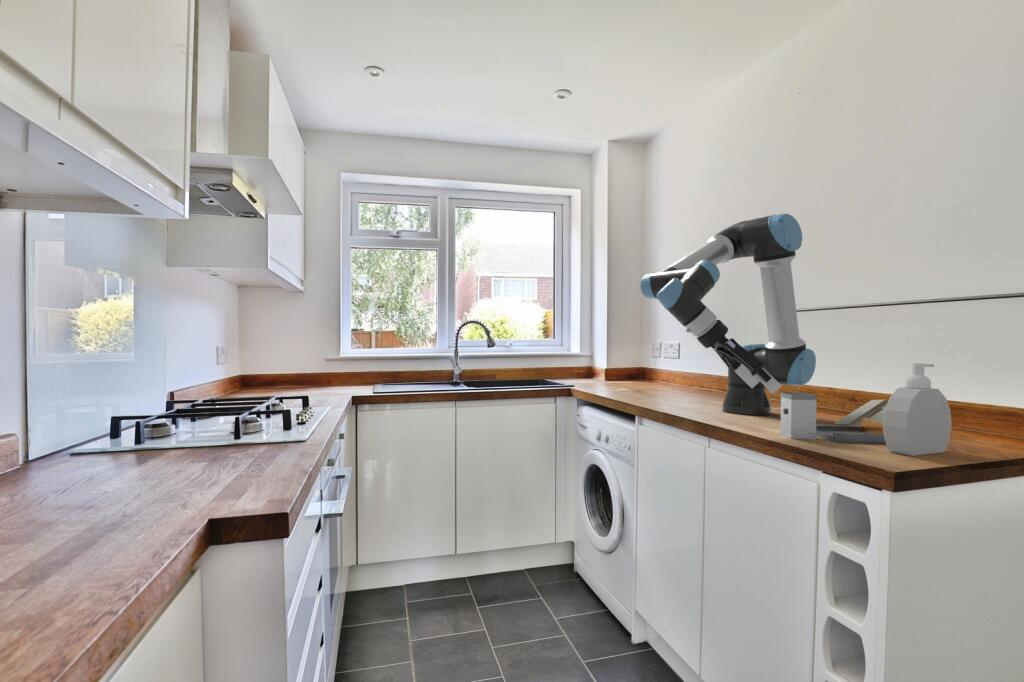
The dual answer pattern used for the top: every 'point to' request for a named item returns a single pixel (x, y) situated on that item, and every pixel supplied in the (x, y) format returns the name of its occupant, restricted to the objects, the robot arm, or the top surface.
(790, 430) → the lock block
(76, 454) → the top surface
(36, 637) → the top surface
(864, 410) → the gray slanted bracket
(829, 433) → the hitch plate
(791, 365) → the robot arm
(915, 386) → the soap bottle
